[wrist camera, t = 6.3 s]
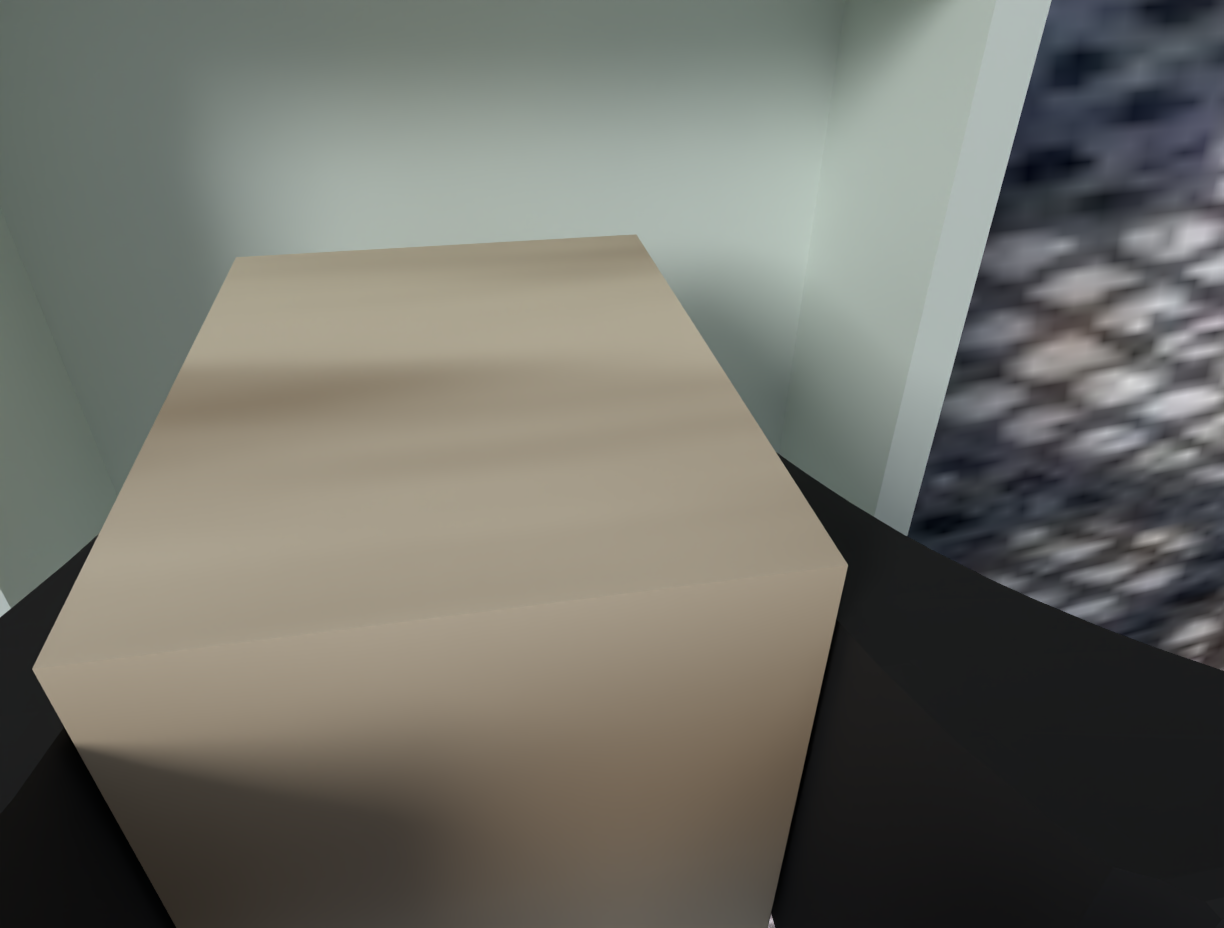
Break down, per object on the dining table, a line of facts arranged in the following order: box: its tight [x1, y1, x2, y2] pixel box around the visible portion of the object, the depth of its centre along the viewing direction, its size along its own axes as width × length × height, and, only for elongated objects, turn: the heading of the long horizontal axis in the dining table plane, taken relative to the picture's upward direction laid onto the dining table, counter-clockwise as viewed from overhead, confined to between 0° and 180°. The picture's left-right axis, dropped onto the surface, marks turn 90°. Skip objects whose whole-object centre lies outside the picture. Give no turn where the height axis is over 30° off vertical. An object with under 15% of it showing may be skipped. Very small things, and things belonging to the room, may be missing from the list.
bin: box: [0, 0, 1051, 617], centre depth 12 cm, size 12×12×4 cm
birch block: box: [32, 234, 848, 928], centre depth 8 cm, size 4×4×6 cm
